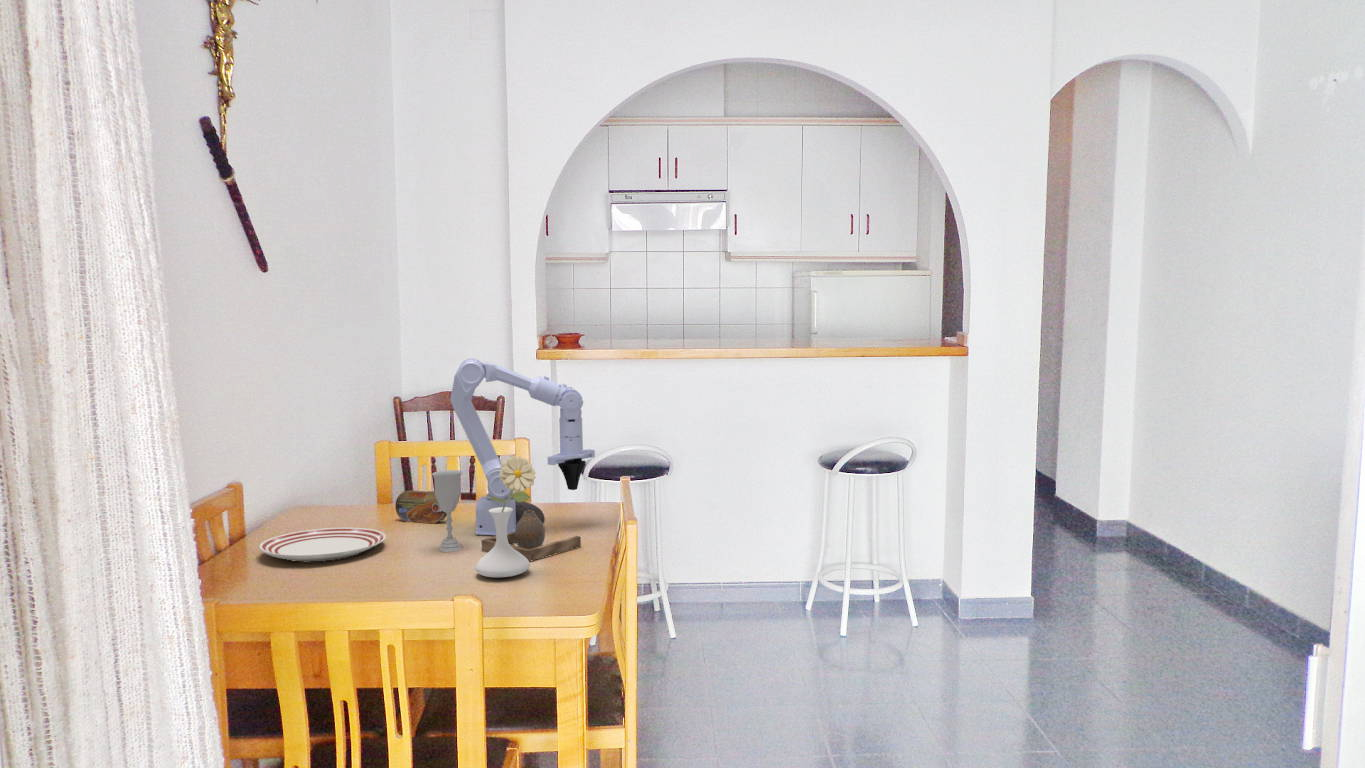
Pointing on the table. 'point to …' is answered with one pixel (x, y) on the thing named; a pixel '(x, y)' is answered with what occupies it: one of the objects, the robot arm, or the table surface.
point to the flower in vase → (502, 555)
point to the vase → (529, 531)
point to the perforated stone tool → (527, 506)
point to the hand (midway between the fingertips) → (572, 489)
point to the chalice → (448, 502)
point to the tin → (419, 507)
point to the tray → (537, 551)
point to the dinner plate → (322, 543)
